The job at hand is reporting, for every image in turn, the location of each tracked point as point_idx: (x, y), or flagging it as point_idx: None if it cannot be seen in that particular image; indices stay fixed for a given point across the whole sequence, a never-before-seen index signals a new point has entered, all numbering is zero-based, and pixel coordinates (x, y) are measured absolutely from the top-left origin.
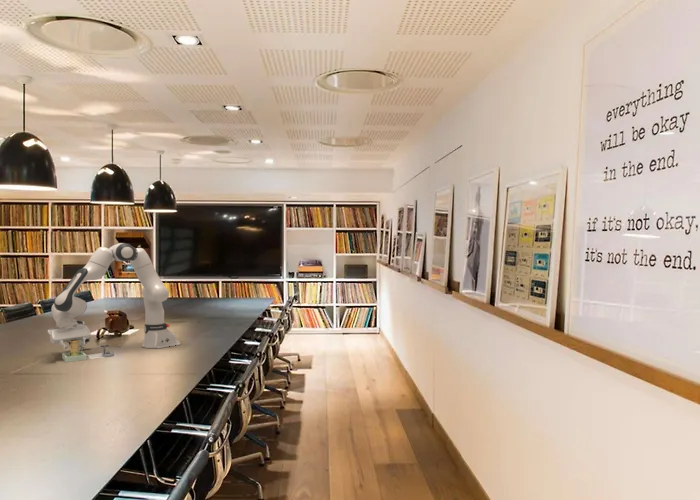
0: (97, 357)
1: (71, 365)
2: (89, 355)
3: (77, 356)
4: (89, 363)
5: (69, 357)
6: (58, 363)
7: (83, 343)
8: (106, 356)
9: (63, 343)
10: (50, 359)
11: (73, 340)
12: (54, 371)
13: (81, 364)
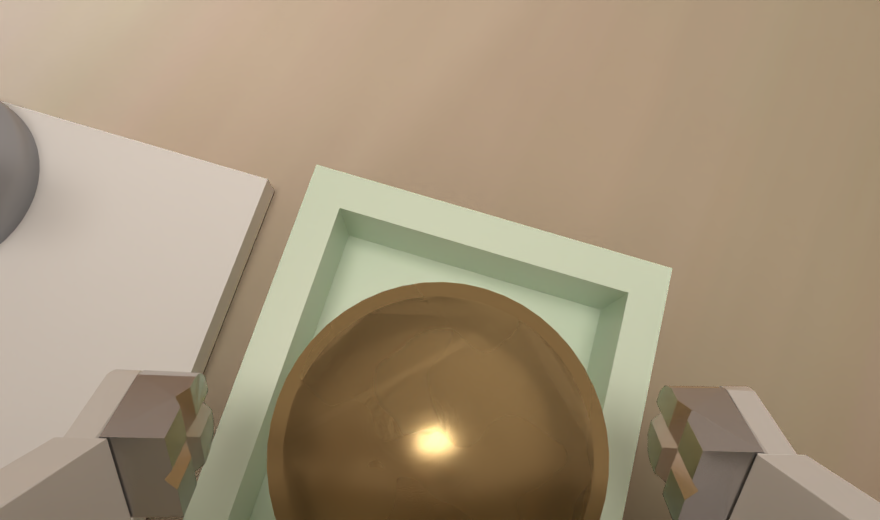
0: (126, 202)
1: (599, 145)
2: None
3: (470, 210)
4: (372, 63)
5: (603, 252)
6: None
7: (167, 377)
8: (14, 114)
9: (819, 482)
10: None
11: (458, 493)
12: (875, 13)
13: (476, 93)
